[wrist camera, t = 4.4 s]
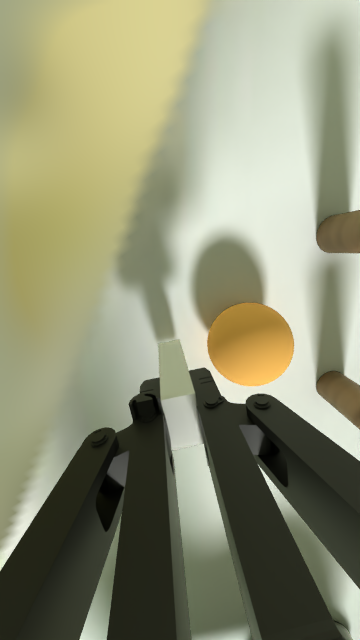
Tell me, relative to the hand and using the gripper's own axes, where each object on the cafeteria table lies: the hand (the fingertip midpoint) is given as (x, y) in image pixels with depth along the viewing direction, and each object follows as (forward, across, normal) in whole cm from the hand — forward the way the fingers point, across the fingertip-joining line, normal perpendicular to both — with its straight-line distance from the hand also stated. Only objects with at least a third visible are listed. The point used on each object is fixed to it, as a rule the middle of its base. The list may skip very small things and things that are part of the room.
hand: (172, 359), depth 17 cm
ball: (-1, -5, 0) cm, 5 cm away
